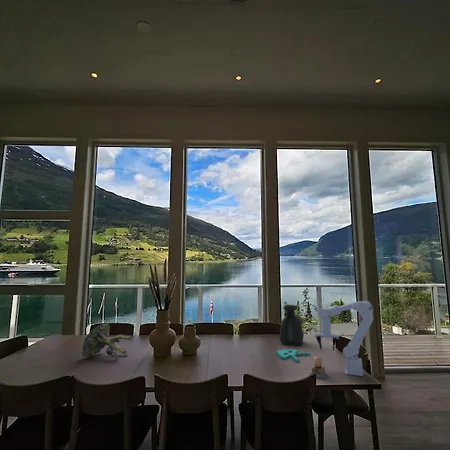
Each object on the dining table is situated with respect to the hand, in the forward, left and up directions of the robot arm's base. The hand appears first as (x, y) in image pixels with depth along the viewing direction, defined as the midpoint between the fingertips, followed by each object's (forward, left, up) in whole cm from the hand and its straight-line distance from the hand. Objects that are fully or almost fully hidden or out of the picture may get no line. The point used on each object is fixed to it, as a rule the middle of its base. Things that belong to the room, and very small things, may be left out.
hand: (327, 349), depth 186 cm
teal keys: (+26, -14, -11) cm, 31 cm away
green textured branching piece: (+147, +33, -11) cm, 151 cm away
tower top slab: (+4, +17, -8) cm, 19 cm away
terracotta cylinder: (+5, +17, -6) cm, 19 cm away
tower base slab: (+5, +17, -11) cm, 21 cm away
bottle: (+31, -50, -11) cm, 60 cm away
